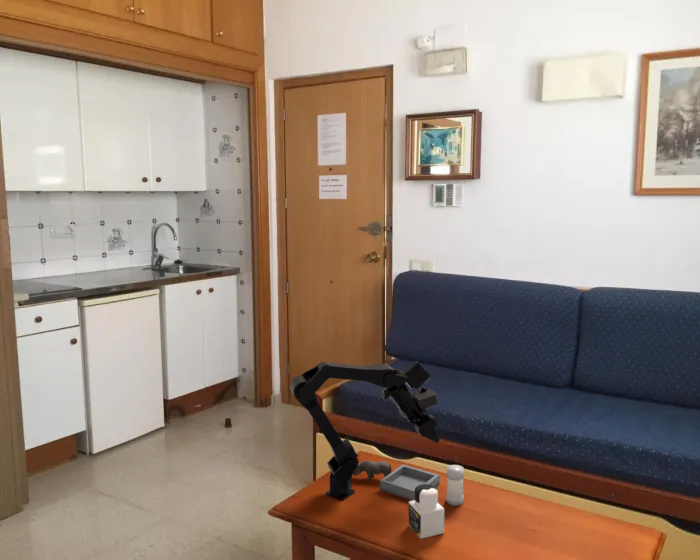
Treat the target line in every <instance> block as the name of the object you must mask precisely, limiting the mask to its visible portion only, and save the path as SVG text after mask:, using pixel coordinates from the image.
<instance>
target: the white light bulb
mask: <svg viewBox="0 0 700 560" xmlns="http://www.w3.org/2000/svg"><path fill="white" fill-rule="evenodd" d="M464 475H465V468H464V466H462V465H459V464H449V465H448V466H447V467H446V478H447V485H446V487H447V489H446V503H447V504H449V505H450V506H460V505H463V504H464V478H465V477H464Z"/></svg>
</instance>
